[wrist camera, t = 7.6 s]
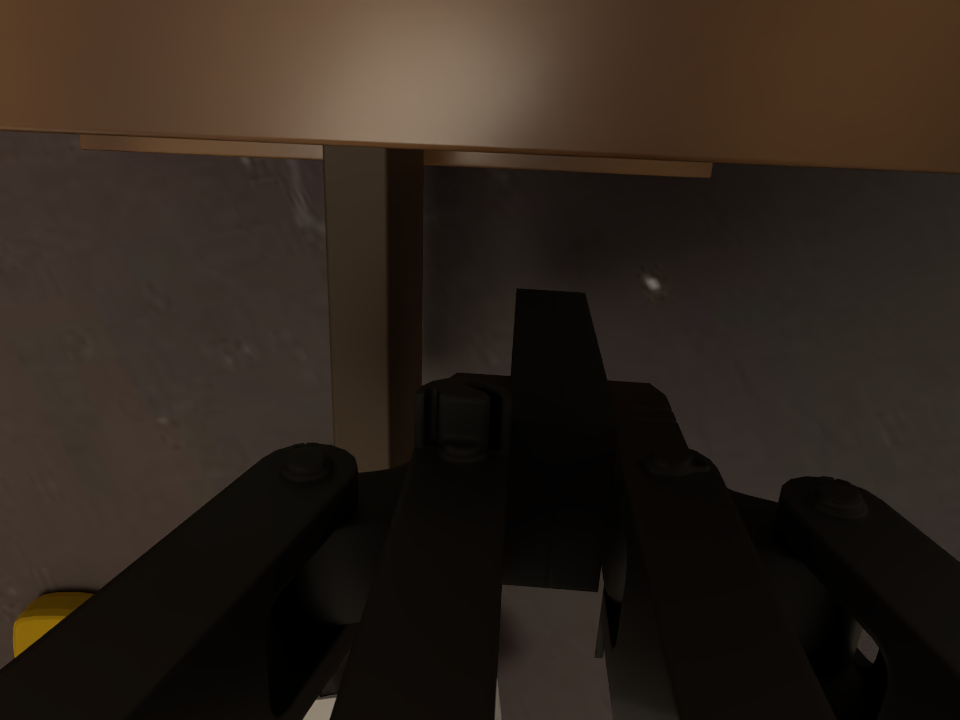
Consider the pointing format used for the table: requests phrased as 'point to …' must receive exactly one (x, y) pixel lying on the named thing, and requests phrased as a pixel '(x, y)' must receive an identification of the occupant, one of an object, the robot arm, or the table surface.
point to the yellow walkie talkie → (44, 617)
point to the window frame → (497, 80)
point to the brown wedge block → (374, 299)
